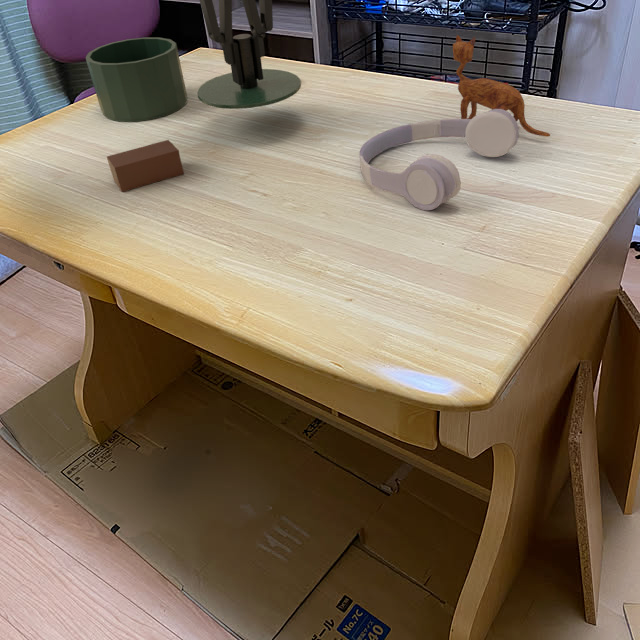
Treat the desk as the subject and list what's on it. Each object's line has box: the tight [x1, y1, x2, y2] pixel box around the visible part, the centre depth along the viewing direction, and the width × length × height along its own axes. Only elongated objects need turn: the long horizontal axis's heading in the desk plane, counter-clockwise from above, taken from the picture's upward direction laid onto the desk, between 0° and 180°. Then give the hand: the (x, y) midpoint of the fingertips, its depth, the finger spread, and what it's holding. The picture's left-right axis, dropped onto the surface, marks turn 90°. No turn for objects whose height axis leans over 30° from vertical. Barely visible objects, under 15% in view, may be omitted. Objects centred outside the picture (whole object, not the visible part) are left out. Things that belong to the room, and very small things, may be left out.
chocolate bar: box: [106, 139, 184, 193], centre depth 97 cm, size 10×5×4 cm, turn 119°
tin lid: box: [196, 33, 302, 110], centre depth 105 cm, size 18×18×9 cm
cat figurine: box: [452, 34, 551, 138], centre depth 98 cm, size 18×7×14 cm, turn 50°
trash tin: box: [85, 37, 188, 123], centre depth 120 cm, size 17×17×10 cm
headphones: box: [358, 109, 520, 211], centre depth 92 cm, size 22×7×20 cm
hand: (248, 79), depth 106 cm, fingers closed on tin lid, 3 cm apart
